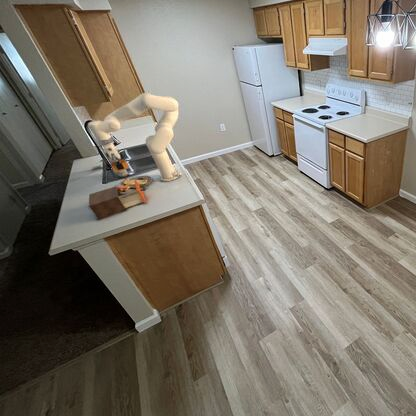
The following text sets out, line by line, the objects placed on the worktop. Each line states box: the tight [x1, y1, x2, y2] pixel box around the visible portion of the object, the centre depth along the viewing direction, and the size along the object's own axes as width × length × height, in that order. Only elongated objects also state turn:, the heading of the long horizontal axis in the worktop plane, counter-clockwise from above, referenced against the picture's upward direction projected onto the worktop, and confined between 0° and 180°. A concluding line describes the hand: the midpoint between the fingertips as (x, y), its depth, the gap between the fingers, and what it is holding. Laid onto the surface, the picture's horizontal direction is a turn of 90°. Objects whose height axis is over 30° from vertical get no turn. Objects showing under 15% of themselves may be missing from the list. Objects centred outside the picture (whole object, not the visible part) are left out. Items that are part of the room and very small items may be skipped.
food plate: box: [113, 175, 153, 195], centre depth 186 cm, size 25×23×4 cm
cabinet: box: [88, 185, 127, 221], centre depth 163 cm, size 14×17×10 cm
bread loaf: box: [109, 158, 130, 173], centre depth 173 cm, size 8×5×6 cm, turn 127°
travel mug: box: [105, 152, 129, 178], centre depth 198 cm, size 6×7×20 cm
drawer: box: [118, 180, 147, 209], centre depth 168 cm, size 17×16×10 cm
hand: (121, 167), depth 174 cm, fingers closed on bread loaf, 5 cm apart
